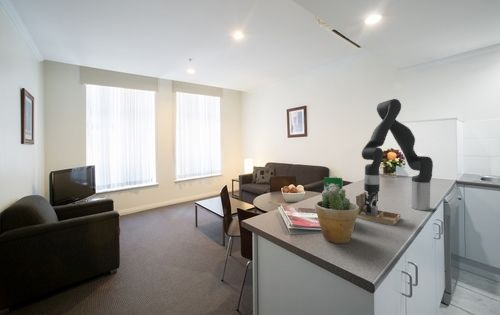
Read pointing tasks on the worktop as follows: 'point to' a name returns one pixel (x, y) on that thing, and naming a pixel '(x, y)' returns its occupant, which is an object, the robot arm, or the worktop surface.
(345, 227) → the potted plant
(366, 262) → the worktop surface
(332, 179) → the milk carton
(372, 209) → the gray rectangular block
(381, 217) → the divided box
